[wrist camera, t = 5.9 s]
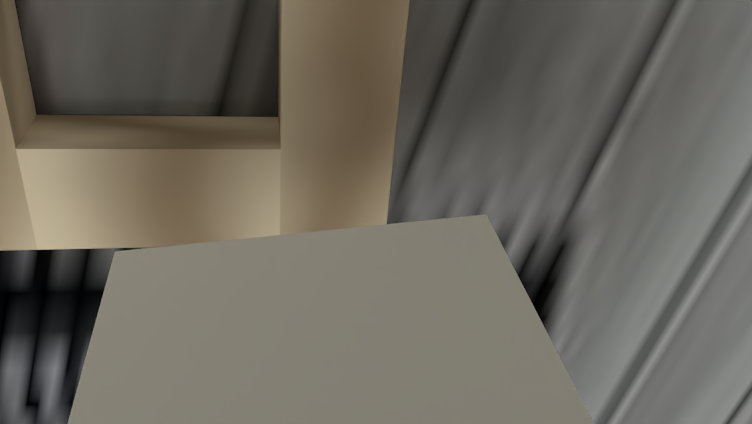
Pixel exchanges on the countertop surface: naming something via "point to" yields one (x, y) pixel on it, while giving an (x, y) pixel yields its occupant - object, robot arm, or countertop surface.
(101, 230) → the socket block
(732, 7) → the countertop surface
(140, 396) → the cream block
